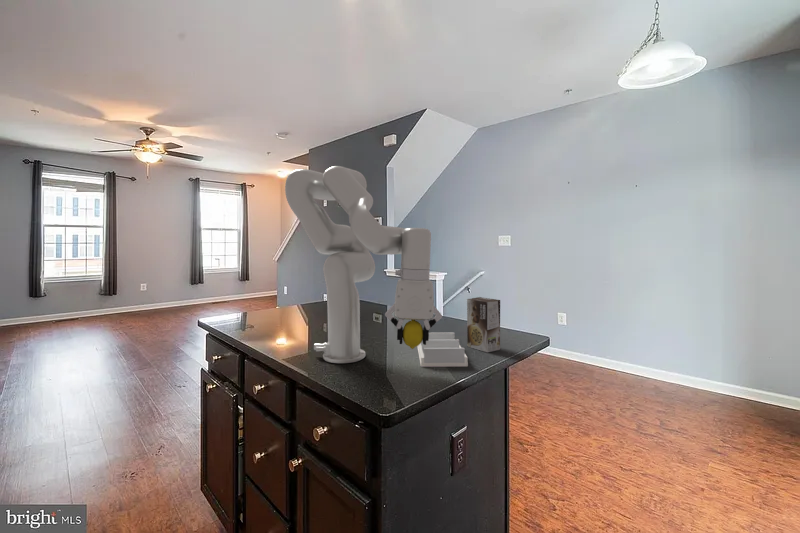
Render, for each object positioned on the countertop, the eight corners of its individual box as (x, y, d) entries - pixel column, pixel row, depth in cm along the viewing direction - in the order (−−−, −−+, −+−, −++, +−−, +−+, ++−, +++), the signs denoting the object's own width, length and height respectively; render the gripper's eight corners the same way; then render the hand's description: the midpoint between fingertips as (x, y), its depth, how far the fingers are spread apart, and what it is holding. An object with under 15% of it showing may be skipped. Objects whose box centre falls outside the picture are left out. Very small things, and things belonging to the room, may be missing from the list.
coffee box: (500, 349, 115) (501, 299, 114) (487, 353, 112) (487, 301, 111) (479, 343, 123) (480, 296, 122) (466, 346, 119) (466, 298, 118)
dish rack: (420, 366, 99) (420, 348, 99) (417, 347, 118) (417, 332, 118) (467, 366, 99) (467, 348, 99) (456, 347, 118) (456, 332, 118)
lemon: (421, 352, 92) (422, 322, 92) (400, 351, 93) (401, 320, 93) (424, 346, 98) (425, 317, 97) (404, 344, 99) (405, 316, 98)
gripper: (381, 275, 90) (379, 346, 92) (449, 278, 90) (446, 348, 92) (382, 272, 98) (380, 338, 99) (445, 274, 98) (443, 340, 99)
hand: (412, 342), depth 95 cm, fingers closed on lemon, 5 cm apart
